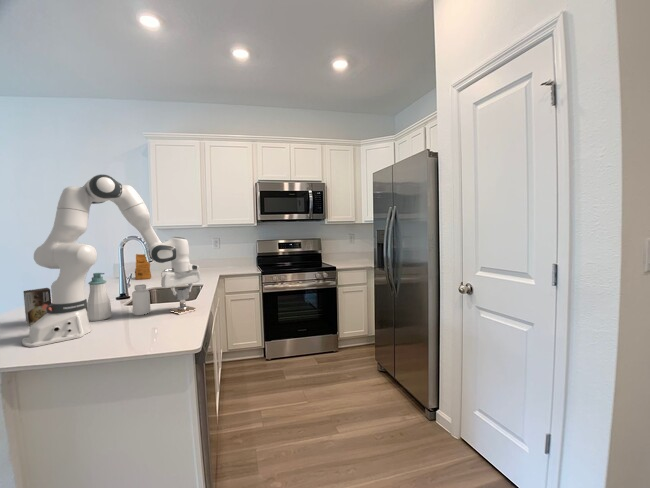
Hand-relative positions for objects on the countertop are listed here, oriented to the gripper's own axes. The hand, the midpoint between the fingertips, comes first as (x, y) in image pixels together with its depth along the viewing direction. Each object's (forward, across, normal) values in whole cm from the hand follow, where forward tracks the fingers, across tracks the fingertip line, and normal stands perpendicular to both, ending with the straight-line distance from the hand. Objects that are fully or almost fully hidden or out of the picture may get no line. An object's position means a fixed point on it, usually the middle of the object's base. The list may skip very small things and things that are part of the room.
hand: (182, 293), depth 169 cm
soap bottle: (+10, -30, +24) cm, 40 cm away
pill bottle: (+10, -14, +15) cm, 23 cm away
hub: (+3, 0, 0) cm, 3 cm away
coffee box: (+10, -49, +42) cm, 65 cm away
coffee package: (+10, +42, +134) cm, 140 cm away
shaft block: (+10, 0, 0) cm, 10 cm away
